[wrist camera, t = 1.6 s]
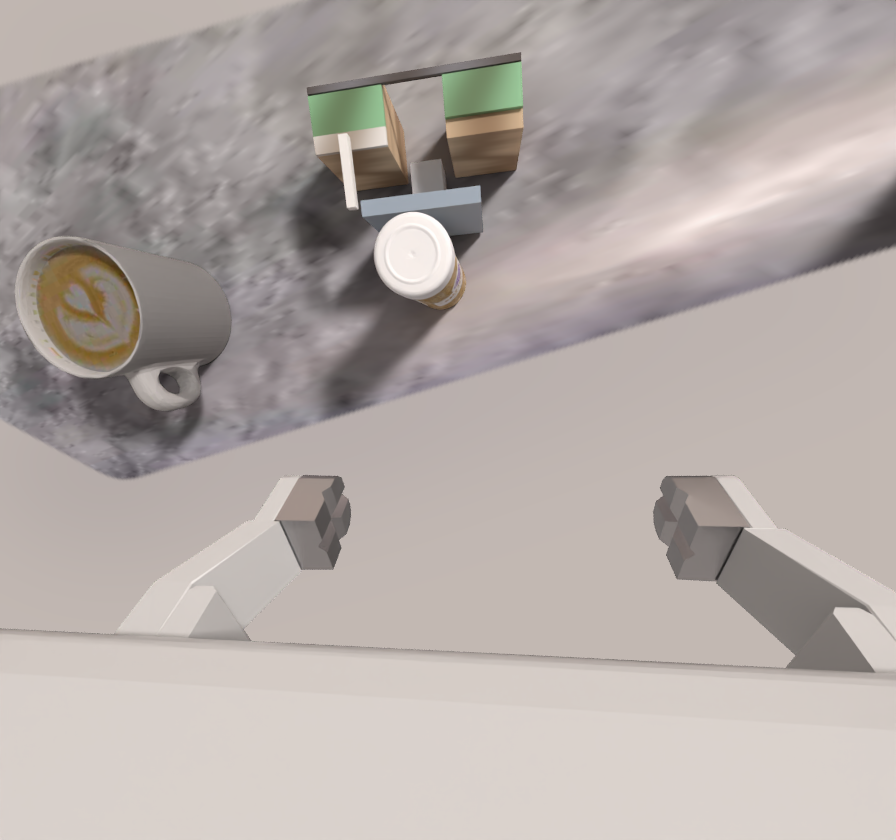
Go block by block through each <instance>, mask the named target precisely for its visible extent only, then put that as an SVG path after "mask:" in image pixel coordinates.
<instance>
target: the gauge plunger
mask: <svg viewBox="0 0 896 840" xmlns="http://www.w3.org/2000/svg"><path fill="white" fill-rule="evenodd" d="M338 140H339V148H340V156H341V164H342V172H343V180H344V188H345V196H346V204H347V208H348V209H349V210H358V209H359V208H358V200H357V191H356V183H355V175H354V166H353V158H352V150H351V141H350V137H349V135H348V134H347V133H344V134H338ZM410 170H411V181H412V192H413V194H409V195H401V196H393V197H386V198H378V199H370V200H362V201H360V202H361V211H362V217H363V218H364V219H365V220H366V221H367V222H368V223H370V224H371V225H372V226H373V227H374V228H375V229H376V230H377V231H378V232H380V231H381V229H382V228H383V226H385V224H386V223H387V222H388V221H390V220H391V219H392V218H394V217H396V216H398V215H400V214H403V213H407V212H419V213H424V214H427V215H429V216H431V217H433V218H434V219H436V220H437V221H438V222H439V223H440V224H441V225H442V226H443V227H444V229H445V230H446V232H447V233H448V235H449V236H454V235H463V234H471V233H480V232H483V223H482V207H481V190H480V185H479V186H471V187H464V188H456V189H448V190H447V189H446V176H445V171H444V167H443V164H442V160H441V159H435V160H428V161H421V162H414V163H410Z"/></svg>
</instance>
